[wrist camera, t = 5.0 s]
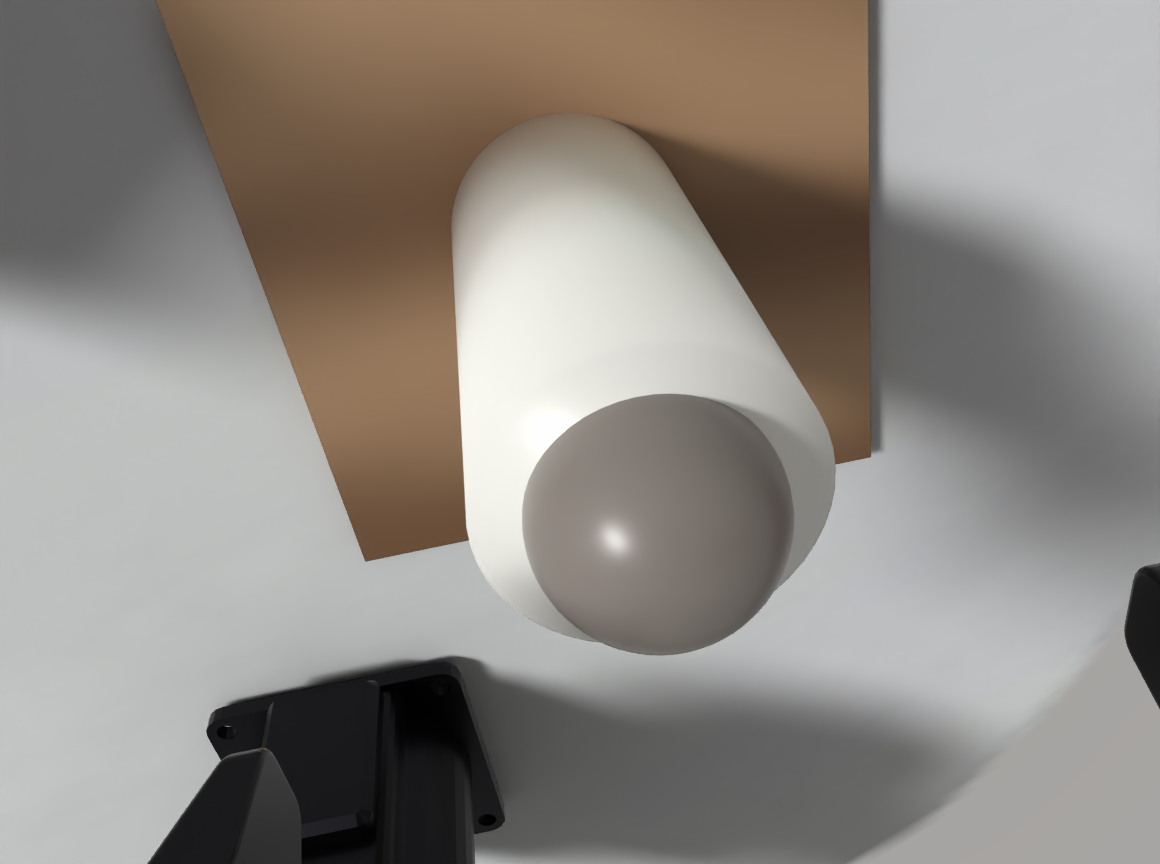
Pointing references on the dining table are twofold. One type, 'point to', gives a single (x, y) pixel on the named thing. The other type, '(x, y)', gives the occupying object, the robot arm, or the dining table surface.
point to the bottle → (621, 399)
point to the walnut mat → (452, 143)
